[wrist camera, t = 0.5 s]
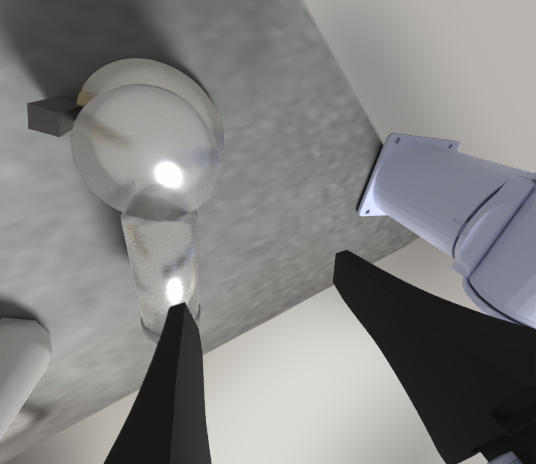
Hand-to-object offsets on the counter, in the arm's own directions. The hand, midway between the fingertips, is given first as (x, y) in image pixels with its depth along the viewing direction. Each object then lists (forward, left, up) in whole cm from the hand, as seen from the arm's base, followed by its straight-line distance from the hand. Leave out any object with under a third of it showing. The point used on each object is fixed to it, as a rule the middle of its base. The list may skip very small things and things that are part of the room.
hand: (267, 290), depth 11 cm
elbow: (+5, 0, -7) cm, 9 cm away
